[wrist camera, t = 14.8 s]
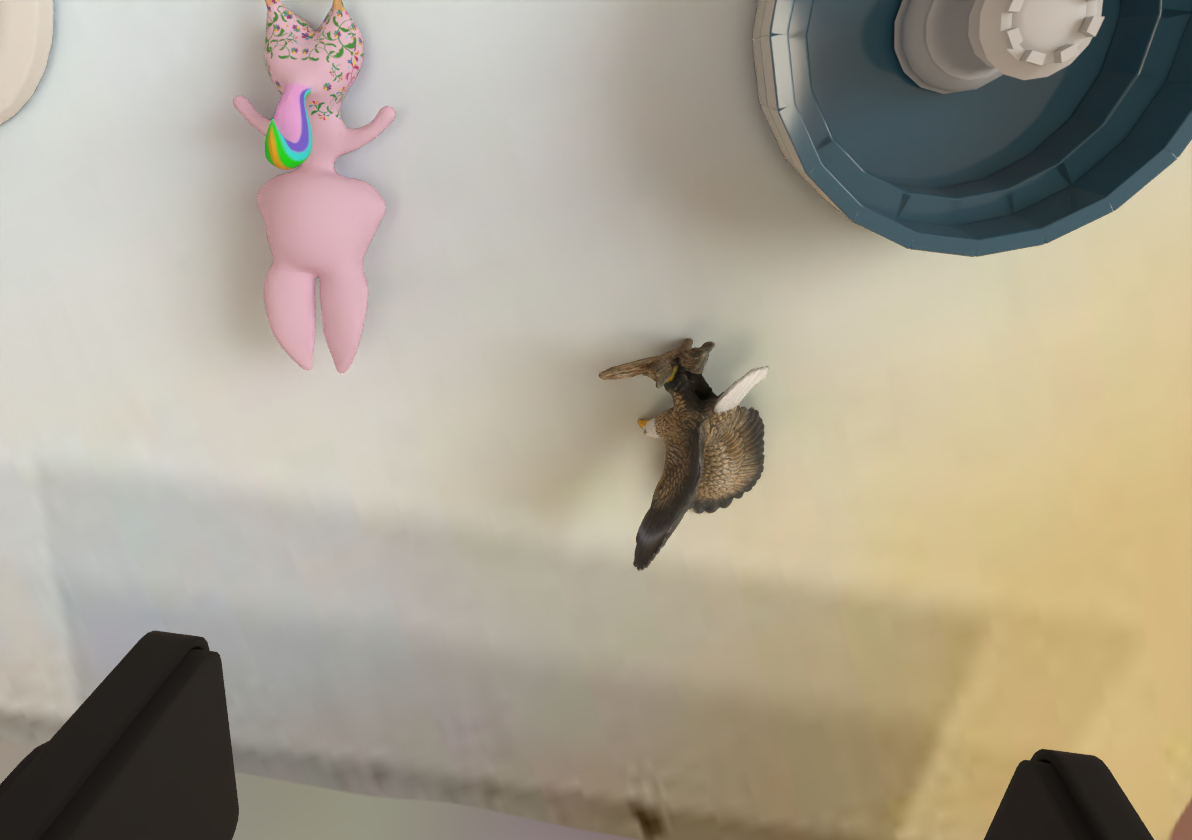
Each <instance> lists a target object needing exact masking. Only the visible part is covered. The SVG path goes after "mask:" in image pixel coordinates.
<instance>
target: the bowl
mask: <svg viewBox="0 0 1192 840" xmlns="http://www.w3.org/2000/svg"><path fill="white" fill-rule="evenodd" d="M902 1H903V0H758V6H757V12H756V18H755V24H754V30H753V36H752V38H753V41H752V44H753V52H754V61H755V69H756V77H757V86H758V94H759V102H760V103H761V108H762V110H763V112H764V114H765V117H766V119H767V121H768V123H769V125H770V127H771V130H772V132H773V134H774V136H775V138H776V140H777V143H778V145H779V147H780V149H781V151H782V154H783V156H784V157H785V158H786V160H787V161H788V162H789V163H790V164H791V165H792V166H793V167H794V168H795V169H796V170H797V172H798V173H799V174H800V175H801V176H802V177H803V178H804V179H805V180H806V181H807V182H808V183H809V184H810V185H811V186H812V187H813V188H814V189H815V190H816V191H817V192H818V193H819V194H820V195H821V196H822V197H823V198H824V199H825V200H826V201H828V202H829V203H830V204H831V205H832V206H834V207H835V208H836V209H837V210H838V211H840V212H841V213H842V214H843V215H845V216H846V217H847V218H848V219H850V220H851V221H852V222H854V223H856V224H858V225H860V226H862V227H864V228H866V229H868V230H870V231H872V232H874V233H877V234H879V235H881V236H883V237H885V238H887V239H889V240H891V241H893V242H895V243H897V244H899V245H901V246H903V247H905V248H907V249H912V250H920V251H928V252H937V253H945V254H953V255H961V256H970V257H974V256H976V257H978V256H983V255H989V254H994V253H1000V252H1005V251H1011V250H1016V249H1022V248H1028V247H1033V246H1039V245H1043V244H1044V243H1049V242H1051V241H1053V240H1055V239H1057V238H1059V237H1061V236H1063V235H1065V234H1067V233H1069V232H1071V231H1074V230H1076V229H1078V228H1080V227H1082V226H1084V225H1086V224H1088V223H1090V222H1092V221H1094V220H1096V219H1099V218H1101V217H1103V216H1105V215H1107V214H1109V213H1111V212H1113V210H1114V211H1115V210H1116V209H1118V208H1119V207H1120V206H1121V205H1122V204H1124V203H1125V202H1126V201H1127V200H1128V199H1130V198H1131V197H1132V196H1133V195H1134V194H1136V193H1137V192H1138V191H1139V190H1140V189H1142V188H1143V187H1144V186H1145V185H1146V184H1148V183H1149V182H1150V181H1151V180H1152V179H1154V178H1155V177H1156V176H1157V175H1158V174H1160V173H1161V172H1162V171H1163V170H1164V169H1166V168H1167V167H1168V166H1169V165H1170V164H1172V163H1173V162H1174V161H1175V160H1176V159H1177V157H1179V156H1180V155H1181V153H1182V152H1183V151H1184V149H1185V148H1186V146H1187V145H1188V144H1189V142H1190V141H1191V140H1192V0H1103V5H1102V14H1101V17H1105V18H1104V20H1103V22H1102V24H1101V26H1100V28H1099V30H1098V32H1097V35H1096V37H1092V39H1091V41H1090V44H1089V45H1088V46H1087V47H1086V48H1085V49H1084V50H1083V51H1082V52H1081V53H1080V55H1079V56H1078V57H1077V58H1076V59H1075V60H1074V61H1073V62H1072V63H1071V64H1070V65H1068V66H1066V67H1065V68H1063V69H1061V70H1059V71H1057V72H1055V73H1054V74H1052V75H1050V76H1048V77H1043V78H1036V79H1029V80H1021V79H1018V78H1015V77H1011V76H1008V75H1004V74H1003V75H1001V76H1000V77H998V78H996V79H995V80H993V81H991V82H989V83H987V84H986V85H984V86H982V87H980V88H978V89H975V90H968V91H961V92H954V93H947V94H942V93H938V92H935V91H931V90H928V89H924V88H921V87H920V86H919V85H918V84H916V83H915V82H914V81H913V80H912V79H911V78H910V77H909V76H908V75H907V74H905V73H904V72H903V69H902V67H901V64H900V62H899V59H898V57H897V54H896V52H895V49H894V31H895V20H896V17H897V14H898V11H899V9H900V6H901V3H902Z"/></svg>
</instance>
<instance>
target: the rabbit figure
mask: <svg viewBox="0 0 1192 840" xmlns="http://www.w3.org/2000/svg"><path fill="white" fill-rule="evenodd" d="M265 2H266V5H267V8H268V12H267V27H266V44H265V64H266V67H267V70H268V73H269V75H270V78H271V80H272V82H273V83H274V85H275V86H276V88H277V89H278V90H279V91H280V92H281V94H282V95H283V96H282V97H281V99H280V101H279V103H278V105H277V108H276V111H275V114H274V117H273V118H272V120H269V119H267V118H265V117H263V116H262V115H261V114H259V113H258V112H257V111H256V109H255V108H254V107H253V105H252V104H251V102H250V101H249V100H248V99H247V98H246V97H244V96H236V97H235V98H234V100H233V104H234V106H235V108H236V109H237V110H238V111H239V112H240V113H241V114H242V115H243V116H244V117H245V118H246V119H247V120H248V122H249V123H250V124H252V125H253V126H254V127H255V128H256V129H257V130H258V131H260V132H261V133H262V134H264V135H265V136H266V141H265V153H266V158H267V160H268V161H269V162H270V163H271V164H273V165H274V166H276V167H278V168H281V169H292V168H295V167H297V166H299V165H300V164H301V166H300V168H299V169H297V170H295V171H292V172H289V173H286V174H281V175H278V176H276V177H274V178H272V179H271V180H270V181H268V182H267V183H266V184H265V185H264V186H263V187H262V188H261V189H260V191H259V192H258V194H257V205H258V207H259V210H260V212H261V214H262V217H263V219H264V221H265V224H266V232H267V237H268V241H269V245H270V248H271V250H272V254H273V263H272V265H271V267H270V269H269V271H268V273H267V275H266V278H265V283H264V300H265V307H266V312H267V316H268V320H269V324H270V327H271V329H272V332H273V334H274V336H275V337H276V339H277V341H278V342H279V344H280V345H281V346H282V348H283V349H284V350H285V351H286V352H287V354H288V355H289V356H290V357H291V358H292V359H293V360H294V361H295V362H296V363H297V364H298V365H299V366H301V367H302V368H303V369H305V370H311V369H312V366H313V351H314V343H315V281H316V278H317V277H319V279H320V302H321V309H322V319H323V330H324V335H325V338H326V342H327V344H328V347H329V350H330V352H331V355H332V357H333V360H334V363H335V366H336V369H337V371H338V372H339V373H344V372H346V371H347V370H348V368H349V367H350V365H351V364H352V362H353V359H354V357H355V354H356V352H357V349H358V346H359V343H360V339H361V335H362V331H363V325H364V320H365V315H366V311H367V303H368V285H367V280H366V277H365V274H364V270H363V258H364V254H365V252H366V250H367V247H368V246H369V244H370V242H371V240H372V238H373V236H374V234H375V232H376V230H377V228H378V226H379V224H380V222H381V220H382V218H383V216H384V214H385V211H386V205H385V202H384V200H383V198H382V197H381V196H380V194H379V193H378V192H377V191H376V190H375V189H374V188H373V187H372V186H371V185H369V184H368V183H366V182H364V181H362V180H358V179H353V178H346V177H343V176H341V175H339V174H338V173H337V172H336V171H335V168H334V162H335V160H336V159H337V158H338V157H339V156H341V155H343V154H345V153H348V152H351V151H354V150H356V149H358V148H360V147H362V146H363V145H365V144H367V143H368V142H370V141H372V140H373V139H374V138H376V137H377V136H378V135H379V134H380V133H381V132H382V131H383V130H384V129H385V128H386V127H387V126H388V125H389V124H390V123H391V122H392V121H393V120H394V119H395V116H396V112H395V110H394V109H393V108H392V107H390V106H386V107H383V108H382V109H381V110H380V111H379V112H378V114H377V116H376V117H375V119H374V120H373V121H372V122H371V123H369V124H368V125H366V126H364V127H361V128H357V129H349V128H347V127H346V126H345V124H344V122H343V120H342V116H341V110H340V109H341V103H342V100H343V98H344V96H345V94H346V93H347V91H348V89H349V88H350V86H351V85H352V83H353V82H354V80H355V79H356V77H357V75H358V73H359V71H360V68H361V65H362V61H363V55H364V44H363V38H362V35H361V33H360V31H359V29H358V28H357V26H356V25H355V24H354V22H353V21H352V19H351V18H350V16H349V14H348V13H347V11H346V10H345V8H344V6H343V3H342V0H334V1H333V6H332V7H331V9H330V11H329V13H328V14H327V16H326V18H325V19H324V21H323V22H322V24H321V26H320V28H319V29H318V30H317V31H314V30H313V29H312V28H311V26H310V25H309V24H308V23H307V22H306V21H305V20H304V19H302V18H301V17H299V16H298V15H296V14H294V13H293V12H291V11H290V10H289V9H288V8H286V7H285V6H284V5H283V4H282V2H281V1H280V0H265Z"/></svg>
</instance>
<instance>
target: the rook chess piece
mask: <svg viewBox="0 0 1192 840" xmlns="http://www.w3.org/2000/svg"><path fill="white" fill-rule="evenodd" d="M1102 5H1103V0H903V1H902V3H901V6H900V9H899V11H898V14H897V17H896V20H895V31H894V49H895V52H896V54H897V57H898V59H899V62H900V64H901V67H902V69H903V72H904V73H905V74H907V75H908V76H909V77H910V78H911V79H912V80H913V81H914V82H915V83H916V84H918V85H919V86H920V87H921V88H924V89H928V90H931V91H935V92H938V93H942V94H947V93H954V92H961V91H968V90H975V89H978V88H980V87H982V86H984V85H986V84H987V83H989V82H991V81H993V80H995V79H996V78H998V77H1000V76H1001V75H1003V74H1004V75H1008V76H1011V77H1015V78H1018V79H1021V80H1029V79H1036V78H1043V77H1048V76H1050V75H1052V74H1054V73H1055V72H1057V71H1059V70H1061V69H1063V68H1065V67H1066V66H1068V65H1070V64H1071V63H1072V62H1073V61H1074V60H1075V59H1076V58H1077V57H1078V56H1079V55H1080V53H1081V52H1082V51H1083V50H1084V49H1085V48H1086V47H1087V46H1088V45H1089V44H1090V41H1091V39H1092V37H1096V35H1097V32H1098V30H1099V28H1100V26H1101V24H1102V22H1103V20H1104V18H1105V17H1101V14H1102Z"/></svg>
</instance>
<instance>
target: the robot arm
mask: <svg viewBox="0 0 1192 840" xmlns="http://www.w3.org/2000/svg"><path fill="white" fill-rule="evenodd" d="M53 19H54V6H53V0H0V125H1V124H2V123H4V122H5V121H7V120H8V119H10V118H11V117H13V116H14V115H16V114H17V112H18V111H19V110H20V109H21V108H22V107H23V106H24V104H25V103H26V102H27V101H28V100H29V99H30V98H31V96H32V95H33V93H34V91H35V89H36V88H37V86H38V84H39V82H40V80H41V78H42V76H43V74H44V72H45V69H46V65H47V61H48V57H49V53H50V49H51V45H52V38H53ZM238 815H239V806H238V798H237V789H236V781H235V772H234V764H233V755H232V747H231V739H230V730H229V722H228V713H227V705H226V696H225V688H224V680H223V671H222V663H221V658H220V655H219V654H218V653H217V652H213V651H209V647H208V643H207V641H206V640H205V639H204V638H203V637H198V636H191V635H183V634H176V633H168V632H161V631H152V632H149V633H147V634H146V635H145V636H144V637H142V638H141V639H140V640H139V641H138V642H137V644H136V645H135V646H134V647H133V648H132V649H131V650H130V651H129V653H128V654H127V655H126V656H125V657H124V658H123V659H122V660H121V661H120V663H119V664H118V665H117V666H116V667H115V668H114V669H113V670H112V672H111V673H110V674H109V675H108V676H107V677H106V678H105V679H104V680H103V682H102V683H101V684H100V685H99V686H98V687H97V688H96V689H95V691H94V692H93V693H92V694H91V695H90V696H89V697H88V698H87V699H86V701H85V702H84V703H83V704H82V705H81V706H80V707H79V708H78V710H77V711H76V712H75V713H74V714H73V715H72V716H71V717H70V718H69V720H68V721H67V722H66V723H65V724H64V725H63V726H62V727H61V729H60V730H59V731H58V732H57V733H56V734H55V735H54V736H53V737H52V739H51V740H50V741H48V742H46V743H44V744H42V745H40V746H38V747H36V748H35V749H34V750H33V751H32V752H31V753H30V754H29V755H28V756H26V757H25V758H24V759H23V760H22V761H21V762H20V763H19V765H18V766H17V767H16V768H15V769H14V770H13V771H12V772H11V773H10V774H9V775H8V777H7V778H6V779H5V780H4V781H3V782H2V783H1V785H0V840H232V838H233V835H234V832H235V830H236V826H237V821H238ZM984 840H1154V839H1153V837H1152V836H1151V834H1150V833H1149V831H1148V830H1147V828H1146V826H1145V825H1144V823H1143V822H1142V820H1141V819H1140V817H1139V815H1138V814H1137V812H1136V811H1135V809H1134V808H1133V806H1132V804H1131V803H1130V801H1129V800H1128V798H1127V797H1126V795H1125V794H1124V792H1123V790H1122V789H1121V787H1120V786H1119V784H1118V783H1117V781H1116V779H1115V778H1114V776H1113V775H1112V773H1111V772H1110V770H1109V769H1108V767H1107V766H1106V765H1105V764H1104V762H1103V761H1102V760H1100V759H1099V758H1097V757H1096V756H1092V755H1084V754H1077V753H1069V752H1062V751H1054V750H1046V749H1041V750H1039V751H1037V752H1036V753H1035V754H1034V755H1033V757H1032V758H1031V760H1030V761H1029V760H1024V761H1022V762H1020V764H1019V765H1018V767H1017V768H1016V771H1015V773H1014V775H1013V777H1012V779H1011V781H1010V784H1009V786H1008V788H1007V790H1006V792H1005V795H1004V797H1003V799H1002V801H1001V803H1000V806H999V808H998V810H997V812H996V814H995V816H994V819H993V821H992V823H991V825H990V827H989V830H988V832H987V834H986V836H985V838H984Z"/></svg>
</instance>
